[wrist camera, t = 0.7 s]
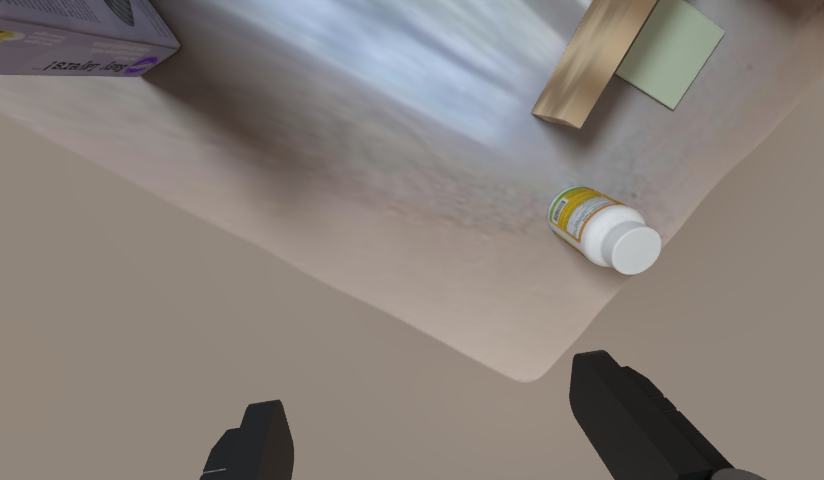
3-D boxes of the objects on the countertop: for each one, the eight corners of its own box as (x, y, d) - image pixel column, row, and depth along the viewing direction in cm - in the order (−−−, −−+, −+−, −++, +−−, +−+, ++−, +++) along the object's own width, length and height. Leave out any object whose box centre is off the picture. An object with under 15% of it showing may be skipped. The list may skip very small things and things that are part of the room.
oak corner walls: (658, -119, 28) (730, -166, 23) (763, -30, 32) (848, -52, 26) (530, 112, 34) (564, 119, 28) (631, 168, 37) (679, 184, 32)
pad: (664, -12, 31) (667, -13, 31) (722, 32, 33) (725, 31, 33) (613, 73, 33) (615, 73, 33) (671, 109, 35) (673, 109, 35)
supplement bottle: (603, 223, 39) (675, 266, 30) (553, 245, 39) (610, 293, 30) (592, 175, 37) (666, 206, 28) (540, 198, 37) (597, 236, 28)
